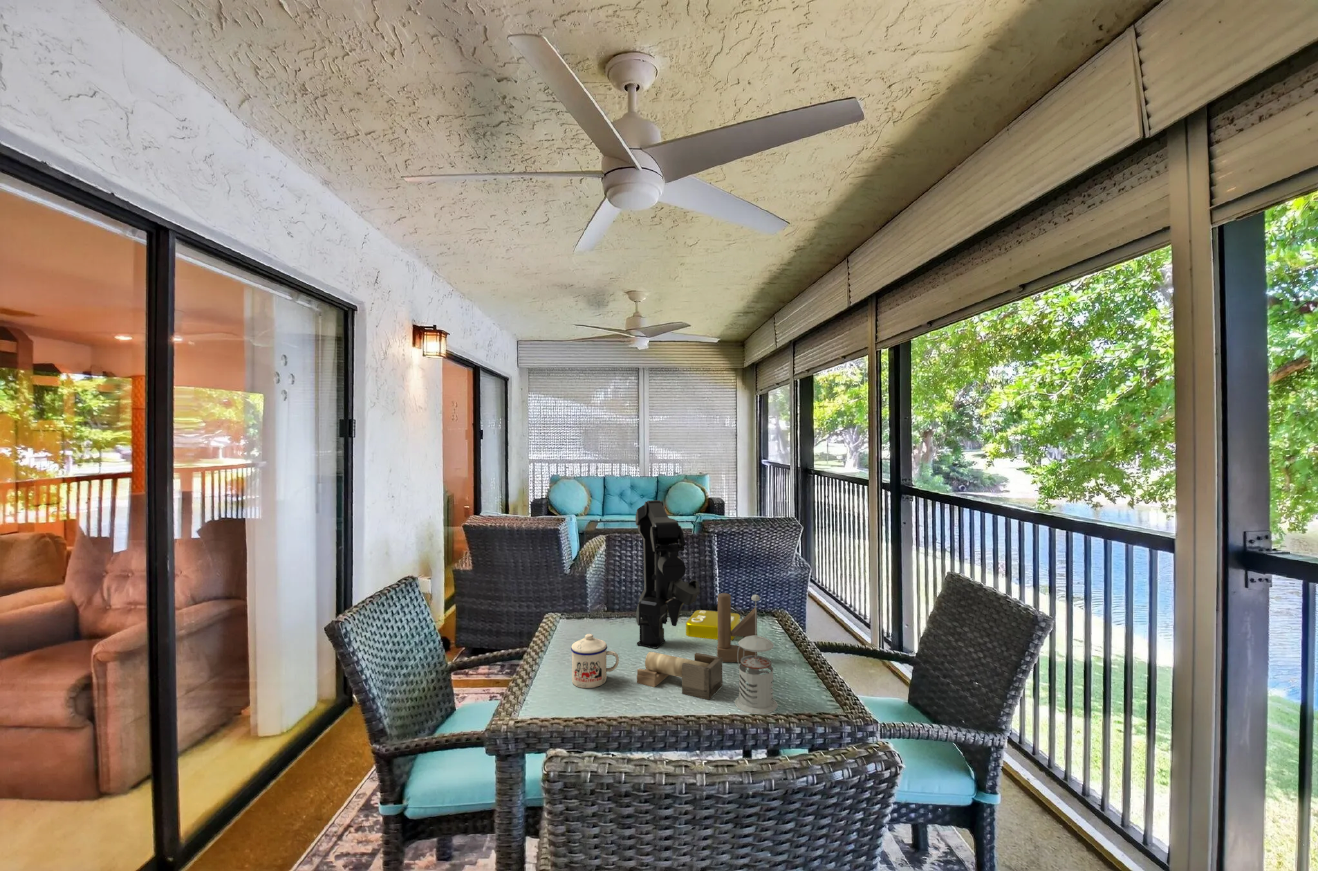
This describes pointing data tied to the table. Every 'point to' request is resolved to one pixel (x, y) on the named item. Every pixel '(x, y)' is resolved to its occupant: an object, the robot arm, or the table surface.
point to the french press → (755, 675)
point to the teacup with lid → (590, 662)
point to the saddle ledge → (650, 677)
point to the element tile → (707, 624)
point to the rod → (668, 663)
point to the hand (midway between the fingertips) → (666, 631)
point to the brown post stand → (725, 633)
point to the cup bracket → (702, 677)
